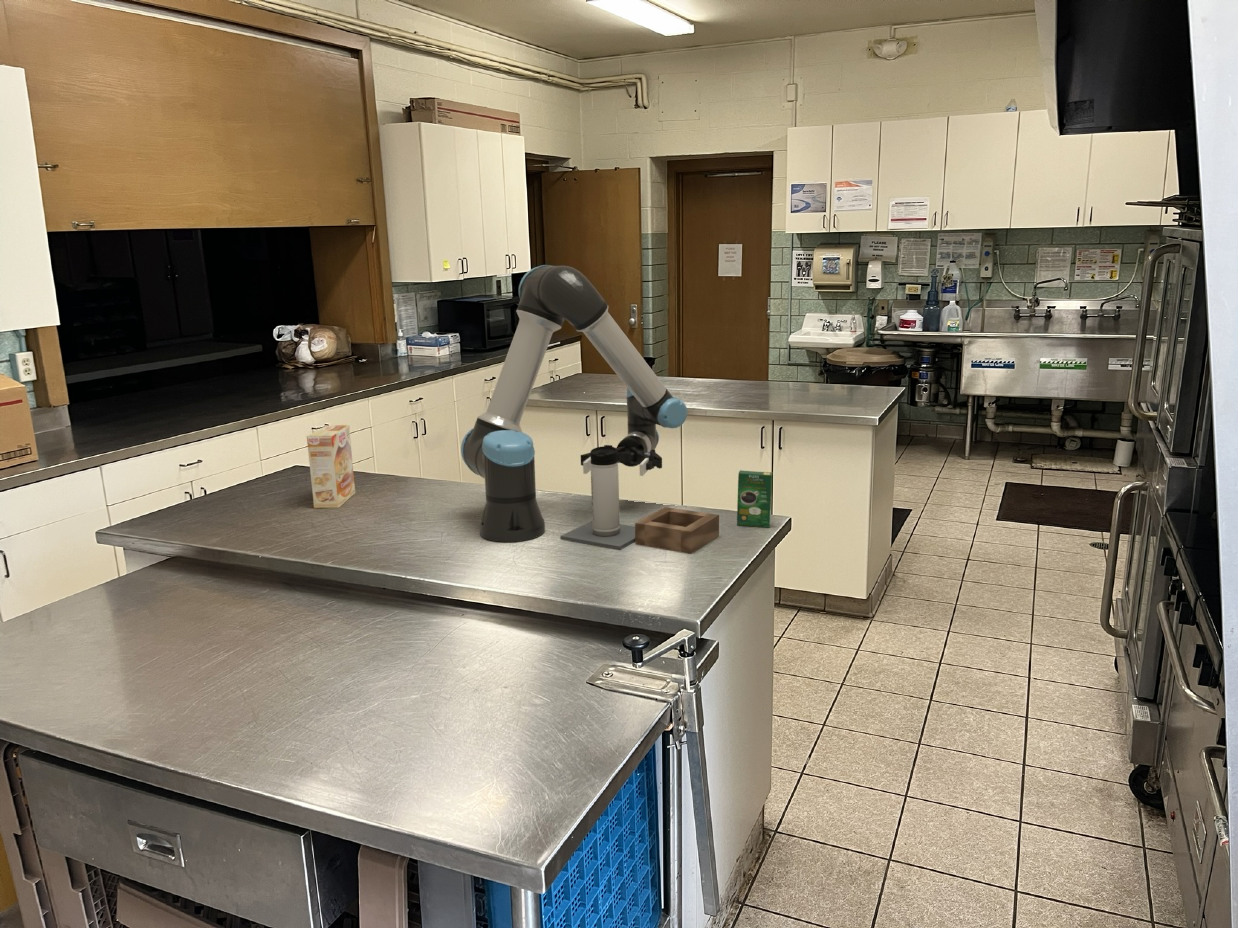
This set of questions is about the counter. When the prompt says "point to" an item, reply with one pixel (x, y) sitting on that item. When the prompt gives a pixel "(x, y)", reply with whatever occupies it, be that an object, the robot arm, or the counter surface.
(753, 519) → the coffee box
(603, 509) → the travel mug
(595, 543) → the mat
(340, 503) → the coffeecake box
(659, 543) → the holder
